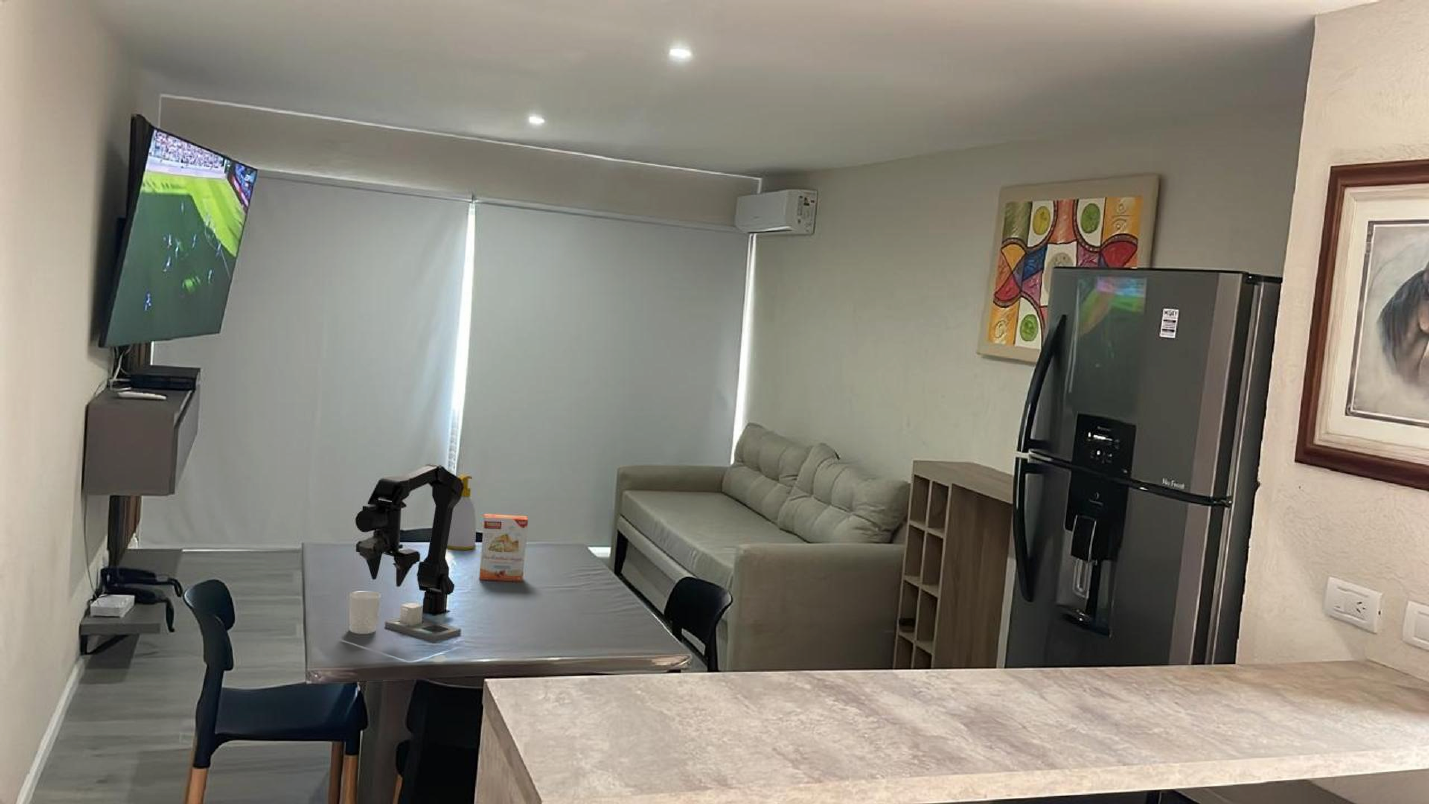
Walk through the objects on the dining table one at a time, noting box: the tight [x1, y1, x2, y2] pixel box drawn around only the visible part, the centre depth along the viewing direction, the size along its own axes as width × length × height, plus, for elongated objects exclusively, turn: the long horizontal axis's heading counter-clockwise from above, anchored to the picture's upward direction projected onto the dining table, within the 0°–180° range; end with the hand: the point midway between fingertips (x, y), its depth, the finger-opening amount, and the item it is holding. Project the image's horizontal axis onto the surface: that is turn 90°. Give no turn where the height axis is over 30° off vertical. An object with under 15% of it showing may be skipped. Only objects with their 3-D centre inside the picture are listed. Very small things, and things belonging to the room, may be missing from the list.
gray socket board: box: [384, 617, 462, 643], centre depth 306 cm, size 10×18×2 cm, turn 60°
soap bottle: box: [447, 474, 477, 551], centre depth 408 cm, size 11×12×26 cm
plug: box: [399, 602, 423, 626], centre depth 308 cm, size 5×4×6 cm
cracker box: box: [478, 513, 529, 583], centre depth 369 cm, size 14×6×21 cm, turn 102°
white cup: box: [348, 590, 382, 635], centre depth 302 cm, size 8×8×10 cm
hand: (386, 582), depth 303 cm, fingers open, 9 cm apart
